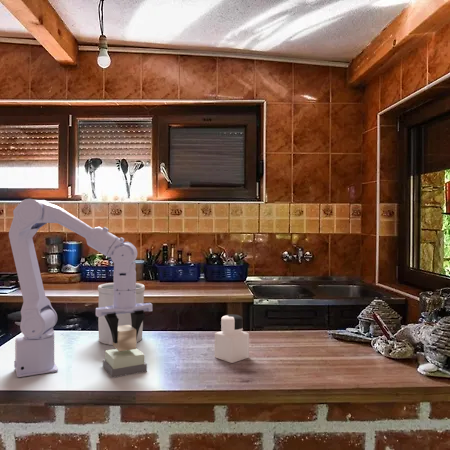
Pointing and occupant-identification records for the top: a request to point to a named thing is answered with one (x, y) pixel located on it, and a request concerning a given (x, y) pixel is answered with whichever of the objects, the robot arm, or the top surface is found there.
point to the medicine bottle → (231, 340)
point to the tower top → (124, 358)
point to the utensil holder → (124, 319)
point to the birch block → (126, 338)
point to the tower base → (124, 369)
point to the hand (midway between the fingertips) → (124, 341)
